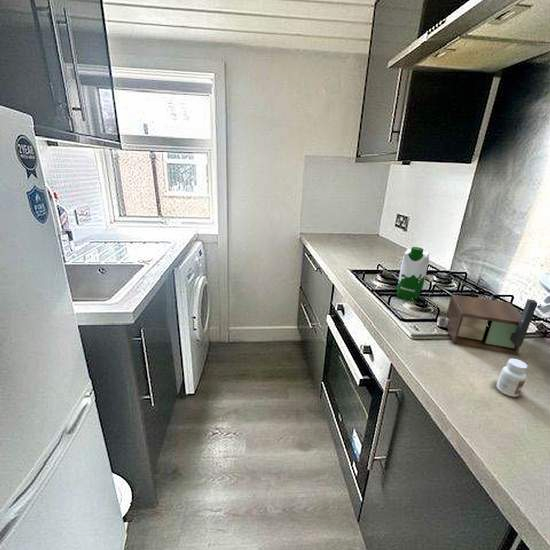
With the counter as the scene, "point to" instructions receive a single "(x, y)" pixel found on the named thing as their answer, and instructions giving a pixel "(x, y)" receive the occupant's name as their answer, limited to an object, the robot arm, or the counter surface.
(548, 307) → the robot arm
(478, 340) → the cupboard
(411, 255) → the milk carton
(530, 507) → the counter surface
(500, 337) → the sliding door
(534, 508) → the counter surface
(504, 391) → the pill bottle
